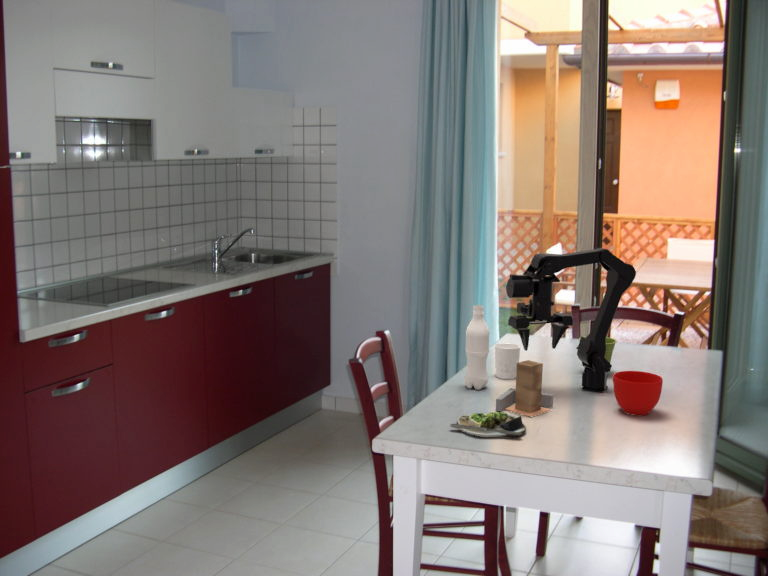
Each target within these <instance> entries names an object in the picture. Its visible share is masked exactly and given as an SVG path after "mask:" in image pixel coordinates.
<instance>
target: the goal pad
mask: <svg viewBox="0 0 768 576" xmlns="http://www.w3.org/2000/svg"><path fill="white" fill-rule="evenodd" d="M506 410H507V412H510V411H512V412H511V413H513V412H515V413H514V414H517V413H519V414H518V415H520V414H523V415H526V416H525V417H527V416H530V417H531V416H534V417H536V416H535V415H538V414H541V413H544V412H547V413H549V412H548V411H550V410H551V408H548V407H541V410H537V411H534V412H531V413H528V412H524V411H521V410H518V409H515V405H512V406H511V405H510V406H508V407H507V408H505V409H504V411H506ZM550 412H551V411H550ZM544 414H545V413H544ZM523 415H522V416H523ZM541 415H542V414H541ZM538 416H539V415H538ZM530 417H529V418H530ZM531 418H532V417H531Z"/></svg>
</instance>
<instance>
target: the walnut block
mask: <svg viewBox="0 0 768 576" xmlns="http://www.w3.org/2000/svg"><path fill="white" fill-rule="evenodd" d="M543 364H544V363H542V362H538V361H535V360H534V361H533V360H530V359H527V360H524V361H519V363H517V371H516V378H515V389H516V396H515V402H514V406H515V409H518V410H521V411H524V412H528V413H531V412H534V411H537V410H541V394H542V393H543V392H542V389H543V388H542V387H543V367H544V365H543Z"/></svg>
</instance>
